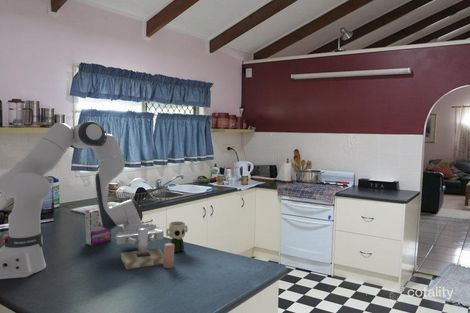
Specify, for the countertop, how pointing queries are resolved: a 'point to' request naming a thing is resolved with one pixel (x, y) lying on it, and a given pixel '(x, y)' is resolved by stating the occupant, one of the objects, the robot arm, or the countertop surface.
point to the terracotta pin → (169, 255)
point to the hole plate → (142, 258)
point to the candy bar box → (95, 228)
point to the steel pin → (142, 242)
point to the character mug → (177, 234)
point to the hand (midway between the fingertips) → (143, 241)
